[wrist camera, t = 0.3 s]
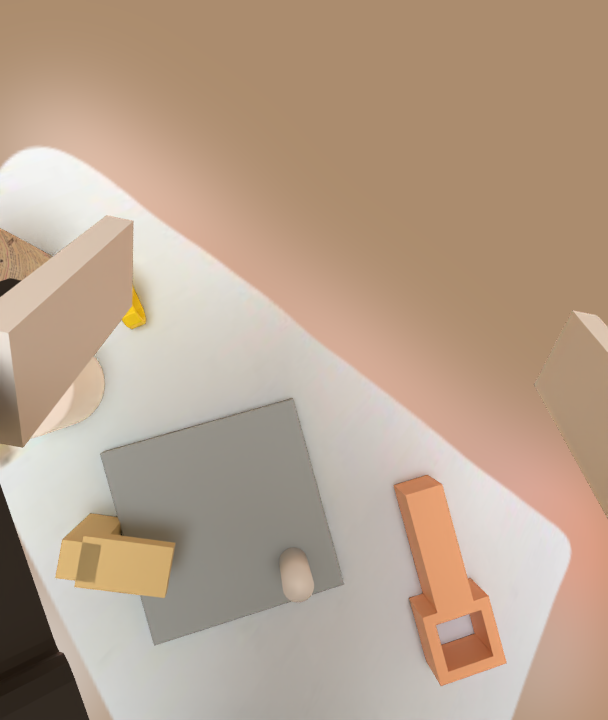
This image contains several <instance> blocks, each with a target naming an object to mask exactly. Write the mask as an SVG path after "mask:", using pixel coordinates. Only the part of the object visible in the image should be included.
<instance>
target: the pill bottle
mask: <svg viewBox="0 0 608 720" xmlns="http://www.w3.org/2000/svg"><path fill="white" fill-rule="evenodd" d="M104 387H105V381H104V374H103V371H102V368H101V366H100V364H99V362H98V361H97V359H96V358H95V357H94V356H93V357H92V359H91V360H90V361H89V363H88V364H87V365H86V367H85V368H84V369H83V370H82V372H81V373H80V374H79V376H78V377H77V378H76V380H75V381H74V382H73V383H72V385H71V386H70V387H69V389H68V390H67V391H66V393H65V394H64V395H63V396H62V398H61V399H60V400H59V402H58V403H57V404H56V406H55V407H54V408H53V409H52V411H51V412H50V413H49V415H48V416H47V417H46V419H45V420H44V421H43V422H42V424H41V425H40V426H39V428H38V429H37V430H36V431H35V433H34V434H33V435H32V437H31V438H35V437H38V436H42V435H45V434H48V433H51V432H54V431H56V430H59V429H62V428H65V427H68V426H71V425H74V424H77V423H79V422H81V421H83V420H85V419H86V418H87V417H89V416H90V415H91V414H92V413H93V412H94V411H95V410H96V409H97V407H98V405H99V404H100V402H101V400H102V397H103V394H104ZM31 438H30V439H31Z"/></svg>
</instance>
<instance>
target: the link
mask: <svg viewBox="0 0 608 720" xmlns="http://www.w3.org/2000/svg"><path fill="white" fill-rule="evenodd" d="M394 489H395V492H396V496H397V500H398V503H399V507H400V511H401V514H402V518H403V522H404V525H405V529H406V533H407V537H408V540H409V544H410V548H411V551H412V555H413V559H414V562H415V566H416V570H417V573H418V577H419V581H420V584H421V588H422V592H423V594H420V595H417V596H414V597H411V598H409V600H410V604H411V607H412V611H413V615H414V618H415V622H416V626H417V629H418V633H419V637H420V640H421V644H422V648H423V651H424V655H425V659H426V662H427V663H428V665H429V667H430V668H431V670H432V672H433V673H434V675H435V677H436V679H437V680H438V682H439V684H440V685H441V686H443V685H445V684H448V683H451V682H454V681H457V680H460V679H463V678H466V677H468V676H471V675H474V674H477V673H480V672H483V671H486V670H488V669H491V668H494V667H497V666H500V665H503V664H506V659H505V655H504V652H503V648H502V644H501V641H500V637H499V633H498V629H497V626H496V622H495V618H494V615H493V611H492V607H491V603H490V600H489V596H488V595H487V594H486V593H485V592H484V591H483V590H482V589H481V588H480V587H479V586H478V585H477V584H476V583H475V582H474V581H473V580H472V579H471V578H469V579H468V578H467V574H466V571H465V567H464V563H463V560H462V556H461V552H460V548H459V545H458V541H457V537H456V534H455V530H454V526H453V523H452V519H451V515H450V511H449V508H448V504H447V500H446V497H445V493H444V489H443V486H442V484H441V483H439V482H438V481H436V480H435V479H433V478H431V477H430V476H428V475H425V476H422V477H419V478H416V479H412V480H409V481H406V482H402V483H399V484H396V485H394ZM467 614H470V617H471V621H472V625H473V628H474V632H475V634H472V635H469V636H466V637H464V638H461V639H458V640H455V641H452V642H449V643H446V644H443V645H441V643H440V639H439V635H438V632H437V628H436V625H438V624H441V623H444V622H447V621H450V620H453V619H456V618H459V617H462V616H465V615H467Z"/></svg>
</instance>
